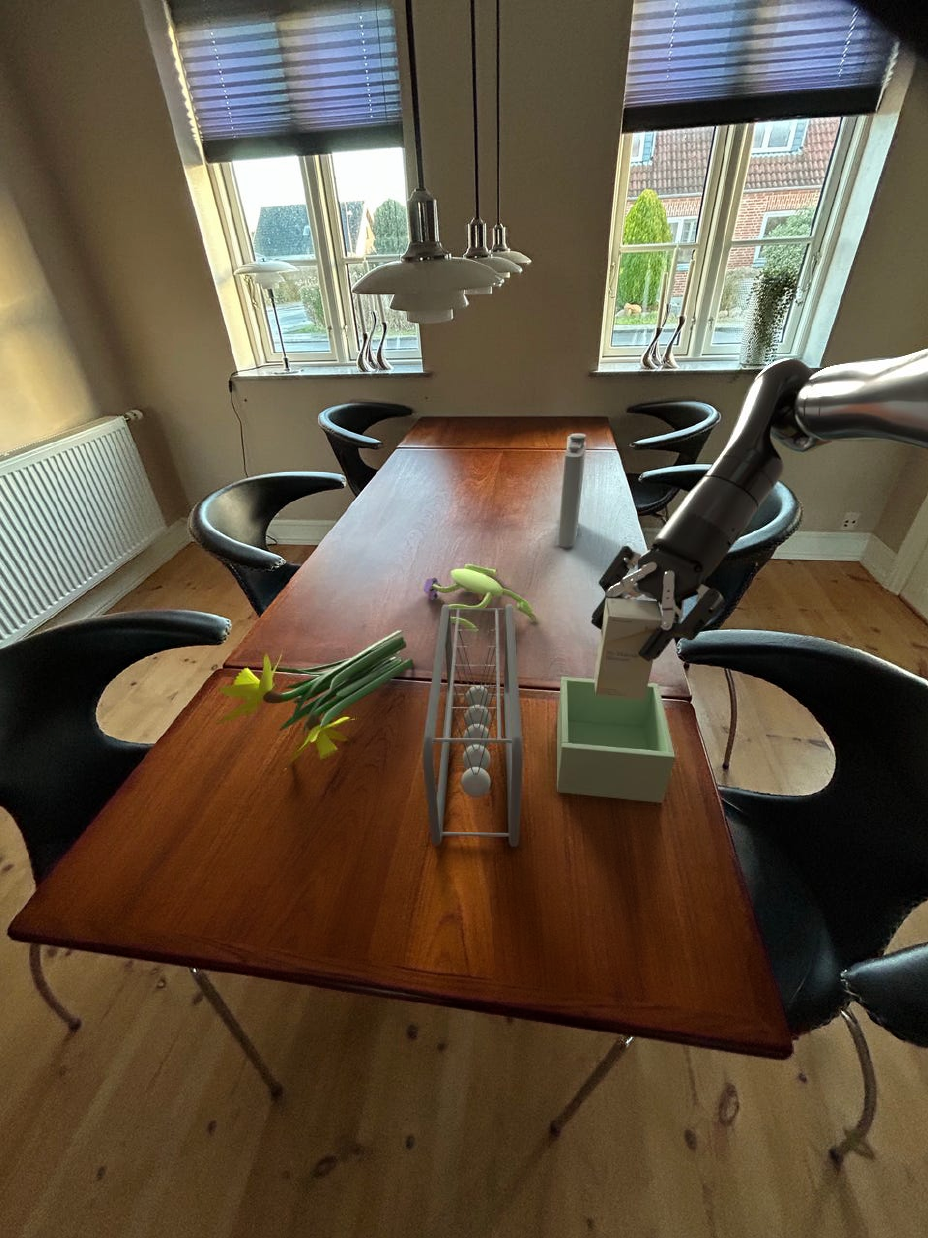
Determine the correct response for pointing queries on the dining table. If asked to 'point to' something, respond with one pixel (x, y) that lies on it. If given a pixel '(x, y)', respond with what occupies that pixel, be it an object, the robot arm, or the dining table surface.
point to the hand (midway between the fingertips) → (618, 641)
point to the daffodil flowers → (322, 690)
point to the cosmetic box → (625, 647)
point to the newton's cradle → (474, 728)
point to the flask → (571, 489)
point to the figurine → (475, 591)
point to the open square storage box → (612, 743)
